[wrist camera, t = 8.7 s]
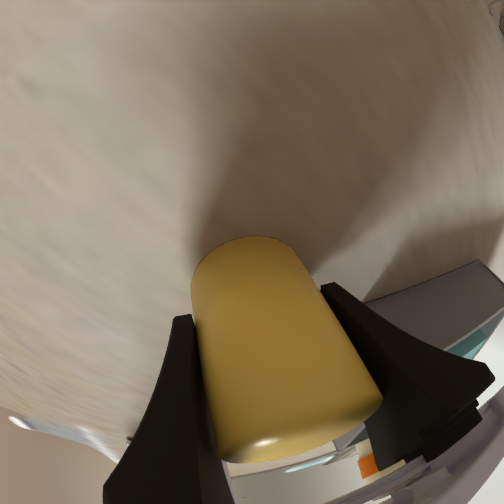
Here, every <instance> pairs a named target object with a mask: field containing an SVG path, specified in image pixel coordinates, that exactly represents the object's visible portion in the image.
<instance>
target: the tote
mask: <svg viewBox="0 0 504 504" xmlns="http://www.w3.org/2000/svg"><path fill="white" fill-rule="evenodd" d="M365 305H366V306H367V307H369V308H370V309H371V310H373V311H374V312H376V313H377V314H378V315H380V316H381V317H383V318H384V319H386V320H387V321H389V322H390V323H392V324H394V325H395V326H397V327H398V328H400V329H401V330H403V331H405V332H407V333H408V334H410V335H412V336H414V337H416V338H418V339H419V340H421V341H423V342H426V343H428V344H430V345H432V346H434V347H437V348H439V349H441V350H444V351H447V350H449V349H450V348H452V347H453V346H455V345H456V344H458V343H459V342H461V341H462V340H464V339H465V338H467V337H468V336H470V335H471V334H472V333H474V332H475V331H477V330H478V329H479V328H480V329H481V330H482V331H483V332H484V334H485V335H486V336H487V337H488V338H487V339H486V340H485V342H484V343H483V345H482V346H481V347H480V349H481V348H482V347H483V346H484V344H485V343H486V342H487V340H488V339H489V338H490V336H491V335H492V333H493V332H494V330H495V329H496V327H497V326H498V325H499V323H500V322H501V320H502V319H503V317H504V283H503V282H502V281H501V280H500V279H499V278H498V277H497V276H496V275H495V274H494V273H493V272H492V271H491V270H490V269H489V268H488V267H487V266H486V265H484V264H483V263H482V262H481V261H480V260H477V261H474V262H472V263H470V264H468V265H465V266H463V267H461V268H458V269H456V270H454V271H451V272H449V273H447V274H444V275H442V276H439V277H437V278H434V279H432V280H429V281H427V282H424V283H421V284H419V285H416V286H413V287H411V288H408V289H405V290H403V291H400V292H397V293H394V294H391V295H389V296H386V297H383V298H380V299H377V300H374V301H371V302H368V303H365ZM480 349H479V350H478V351H477V352H476V354H475V355H474V356H473V357H472V359H471V360H473V359H474V357H475V356H476V355H477V354H478V352H479V351H480ZM367 439H369V437H368V433H367V430H366V427H365V424H364V422H363V423H361V424H360V425H358V426H357V427H355V428H354V429H352V430H351V431H349V432H347V433H346V434H344V435H342V436H340V437H338V438H336V439H334V440H333V443H334V445H335V447H336V450H337V452H339V451H342V450H344V449H347V448H349V447H352V446H354V445H356V444H358V443H361V442H363V441H365V440H367Z"/></svg>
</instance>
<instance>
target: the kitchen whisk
mask: <svg viewBox="0 0 504 504" xmlns="http://www.w3.org/2000/svg"><path fill="white" fill-rule="evenodd" d="M496 2H503V3H504V1H502V0H495V1H492V2H491V4H490V6H489V9H490V14H491V16H492V17H493V15H492V11H491V7H492V5H493V4H494V3H496ZM500 29H501V31H502V32H503V33H504V16H503V17H502V18H501V19H500Z"/></svg>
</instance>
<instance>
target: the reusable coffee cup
mask: <svg viewBox="0 0 504 504" xmlns="http://www.w3.org/2000/svg"><path fill="white" fill-rule="evenodd" d="M355 447H356V450H357V453H358V456H359V460H358V464H359V468H360V471H361V475H362V479H364V478H365V482H366V485H368V484H370V483H372V482H374V481H376V480H378V479H380V478H382V477H384V476H386V475H388V474H390V473H391V472H393V471H395V470H397V469H398V468H400V467H402V466H404V465H405V464H406V463H405V461H404V459H403V460H401V461H400V462H398V463H396V464H394V465H392V466H390V467H388V468H386V469H384V470H382V471H380V472H379V471H378V469H377V466H376V464H375V460H374V455H373V451H372V447H371V444H370V440H369V439H367V440H365V441H363V442H361V443H358V444H356V445H355ZM422 473H423V470H422V471H421V472H419V473H418V474H416V475H414V476H413V477H411V478H410V479H408V480H406V481H405V482H407V481H409V480H411V479H413V478H415V477H417V476H419V475H421V474H422ZM405 482H403V483H401V484H400V485H398V486H396V487H394V488H393V489H391V490H389V491H387V492H385V493H383V494H381V495H379V496H377V497H375V498H373V499H372V501H375V500H378V499H381V498H384V497H386V496H388V495H391V494H390V493H391V492H392V491H393V490H395V489H396V488H398V487H399V486H401V485H402V484H404V483H405Z"/></svg>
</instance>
